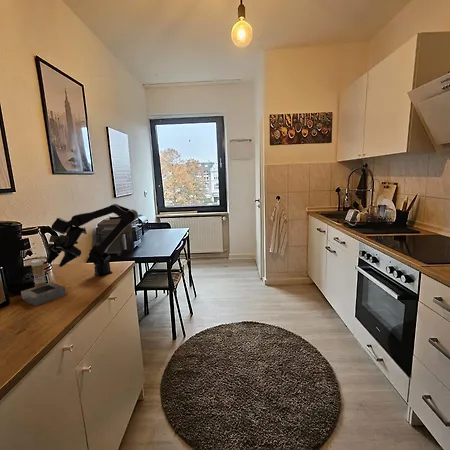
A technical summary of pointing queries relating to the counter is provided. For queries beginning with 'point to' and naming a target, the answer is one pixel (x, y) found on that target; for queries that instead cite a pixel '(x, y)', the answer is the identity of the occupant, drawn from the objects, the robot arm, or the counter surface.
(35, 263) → the sprinkles bottle
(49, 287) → the block
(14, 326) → the counter surface
